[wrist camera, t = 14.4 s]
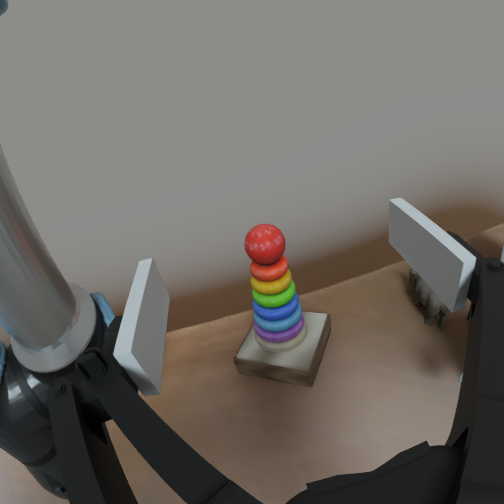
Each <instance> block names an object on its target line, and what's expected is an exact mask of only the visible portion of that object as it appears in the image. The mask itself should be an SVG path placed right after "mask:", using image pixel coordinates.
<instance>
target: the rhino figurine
mask: <svg viewBox="0 0 504 504" xmlns="http://www.w3.org/2000/svg"><path fill="white" fill-rule="evenodd" d="M409 274H410V285H411V286H413V287H415V293H416V297H417V300H416V301H415V302H414V303H415V305H416V306H421V304H423V305H424V306H425V307H427V310H428V313H429V317H428V318H426V319H425V324H427V325H432V321H434V319H435V316H436V315H437V314H438V313H439V314H440V322H439V323H438V326H439V327H440V328H444V327H445V325H446V323H445V318H446V312H447V310H448V307H447V306H446V305H445V304H444V303H443V301H442V300H441V299H440V298H439V297H438V296H437V294H436V293H435V292H434V291H433V290H432V289H431V288H430V286H429V285H428V284H427V283H426V282H425V281H424V280H423V279H422V277H421V276H420V275H419V274H418V273H417V272H415V271H413V270H412V269H410V270H409Z"/></svg>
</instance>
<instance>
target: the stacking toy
mask: <svg viewBox="0 0 504 504" xmlns="http://www.w3.org/2000/svg"><path fill="white" fill-rule="evenodd" d="M245 250H246V252H247V255H248V256H249V257H250V258H251V259H252V260H253V261H252V262H251V264H250V272H251V274H252V277H251V285H252V287H253V290H252V295H253V298H254V300H253V309H254V329H255V338H256V341H257V343H258V344H259V345H260V346H261V347H262V348H264V349H265V350H268V351H271V352H286V351H290V350H292V349H294V348H296V347H297V346H299V345H300V344H301V343H302V342H303V341H304V339H305V337H306V335H307V325H306V323H305V321H304V316H303V313H302V307H301V304H300V303H299V299H298V295H297V293H296V287H295V284H294V282H293V281H292V276H291V273H290V271H289V270H288V267H289V263H288V260H287V258H286V257H285V256H284V255H283V253H284V250H285V238H284V236H283V234H282V232H281V231H280V230H279V229H278V228H277V227H275V226H273V225H271V224H260V225H257V226H255V227H253V228H252V229H251V230H250V231H249V232H248V234H247V235H246V238H245Z"/></svg>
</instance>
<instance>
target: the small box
mask: <svg viewBox="0 0 504 504" xmlns="http://www.w3.org/2000/svg"><path fill="white" fill-rule="evenodd" d="M500 261H502V262H503V263H504V245H503V250H502V254H501V259H500Z"/></svg>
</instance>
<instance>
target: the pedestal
mask: <svg viewBox="0 0 504 504" xmlns="http://www.w3.org/2000/svg"><path fill="white" fill-rule="evenodd" d="M302 313H303V316H304V321H305V323H306V325H307V335H306V337H305V339H304V341H303V342H302V343H301V344H300V345H299V346H297V347H296V348H294V349H292V350H290V351H286V352H271V351H268V350H265V349H264V348H262V347H261V346H260V345H259V344H258V343H257V341H256V338H255V329H254V324H253V326H252V327H251V329H250V331H249V333H248V335H247V336H246V338H245V340H244V342H243V344H242V345H241V347H240V349H239V351H238V352H237V354H236V356H235V358H234V362H235V365H236V367H237V369H238V372H239V373H241V374H246V375H250V376H255V377H260V378H265V379H270V380H275V381H280V382H286V383H291V384H297V385H303V386H309V387H312V386H313V383H314V380H315V378H316V375H317V372H318V369H319V366H320V363H321V360H322V357H323V353H324V350H325V347H326V344H327V341H328V338H329V334H330V331H331V322H330V315H329V314H323V313H312V312H302Z"/></svg>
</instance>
